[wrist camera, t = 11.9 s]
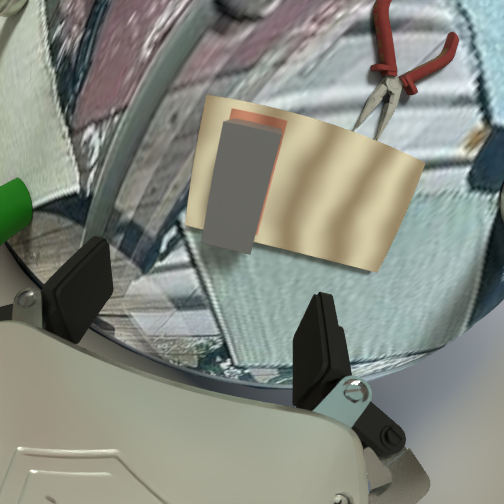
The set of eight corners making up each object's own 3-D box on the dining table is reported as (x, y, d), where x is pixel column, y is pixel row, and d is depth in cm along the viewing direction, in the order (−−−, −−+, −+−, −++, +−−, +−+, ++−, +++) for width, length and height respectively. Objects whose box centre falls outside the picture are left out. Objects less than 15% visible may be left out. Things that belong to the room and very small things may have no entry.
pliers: (320, 109, 27) (323, 109, 24) (381, -13, 17) (388, -20, 15) (400, 157, 28) (409, 161, 26) (454, 40, 18) (464, 37, 16)
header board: (419, 160, 27) (439, 170, 23) (374, 266, 36) (384, 288, 31) (209, 95, 27) (197, 94, 22) (188, 220, 35) (175, 238, 30)
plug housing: (234, 118, 26) (223, 121, 21) (281, 128, 27) (281, 134, 21) (214, 217, 32) (201, 242, 27) (255, 227, 33) (250, 254, 27)
